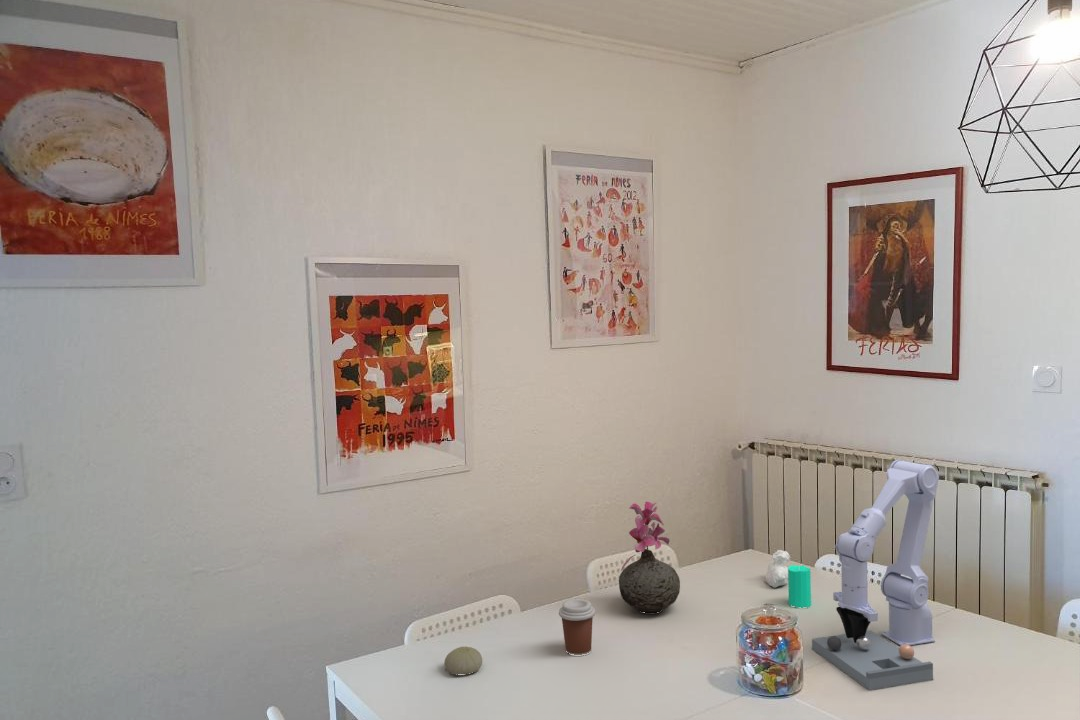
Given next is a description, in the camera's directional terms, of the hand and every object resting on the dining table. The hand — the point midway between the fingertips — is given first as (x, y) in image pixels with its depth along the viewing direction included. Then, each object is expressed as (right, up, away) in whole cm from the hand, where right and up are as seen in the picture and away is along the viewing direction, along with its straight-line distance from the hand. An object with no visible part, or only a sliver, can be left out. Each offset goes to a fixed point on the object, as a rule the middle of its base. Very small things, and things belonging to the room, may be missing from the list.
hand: (855, 639), depth 185 cm
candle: (-2, -2, +32) cm, 33 cm away
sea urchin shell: (-94, -8, +2) cm, 94 cm away
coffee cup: (-66, -6, +9) cm, 67 cm away
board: (+2, -4, -5) cm, 6 cm away
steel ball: (+1, 0, -3) cm, 3 cm away
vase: (-44, -4, +33) cm, 56 cm away
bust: (-3, -1, +50) cm, 50 cm away
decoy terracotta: (+8, 0, -8) cm, 12 cm away
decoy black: (-6, 0, -2) cm, 6 cm away
